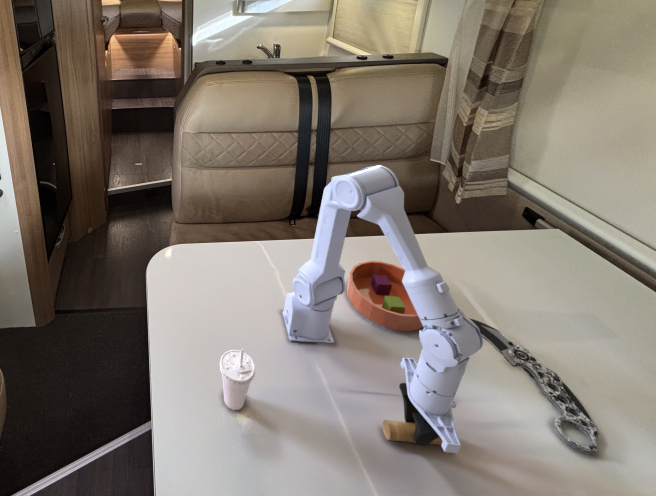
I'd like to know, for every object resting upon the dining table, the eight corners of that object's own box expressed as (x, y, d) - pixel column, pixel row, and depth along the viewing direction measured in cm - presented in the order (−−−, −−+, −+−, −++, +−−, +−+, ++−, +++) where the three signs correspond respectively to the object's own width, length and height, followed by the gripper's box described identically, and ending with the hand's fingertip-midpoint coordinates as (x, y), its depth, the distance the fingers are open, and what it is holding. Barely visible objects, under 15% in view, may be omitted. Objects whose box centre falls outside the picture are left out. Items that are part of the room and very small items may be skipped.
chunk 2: (388, 317, 98) (390, 306, 97) (382, 306, 101) (384, 295, 100) (402, 318, 98) (405, 307, 96) (396, 306, 101) (399, 296, 99)
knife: (453, 313, 98) (496, 310, 98) (452, 318, 98) (494, 315, 98) (571, 452, 72) (630, 448, 72) (568, 457, 72) (626, 453, 72)
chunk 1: (375, 294, 104) (378, 284, 103) (370, 284, 107) (373, 274, 106) (389, 295, 104) (392, 285, 103) (383, 285, 107) (386, 275, 106)
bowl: (362, 330, 95) (366, 313, 94) (336, 274, 111) (340, 259, 109) (442, 335, 94) (448, 318, 92) (405, 278, 110) (410, 263, 108)
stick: (387, 443, 74) (391, 434, 73) (381, 425, 77) (384, 416, 75) (448, 449, 73) (453, 440, 72) (439, 430, 76) (444, 422, 74)
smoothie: (244, 424, 77) (250, 371, 72) (211, 405, 80) (215, 353, 75) (255, 394, 82) (262, 342, 77) (224, 378, 85) (229, 326, 80)
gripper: (491, 428, 62) (465, 484, 67) (437, 342, 75) (419, 393, 81) (440, 424, 63) (418, 479, 68) (395, 339, 76) (380, 390, 81)
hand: (416, 432), depth 74 cm, fingers closed on stick, 3 cm apart
